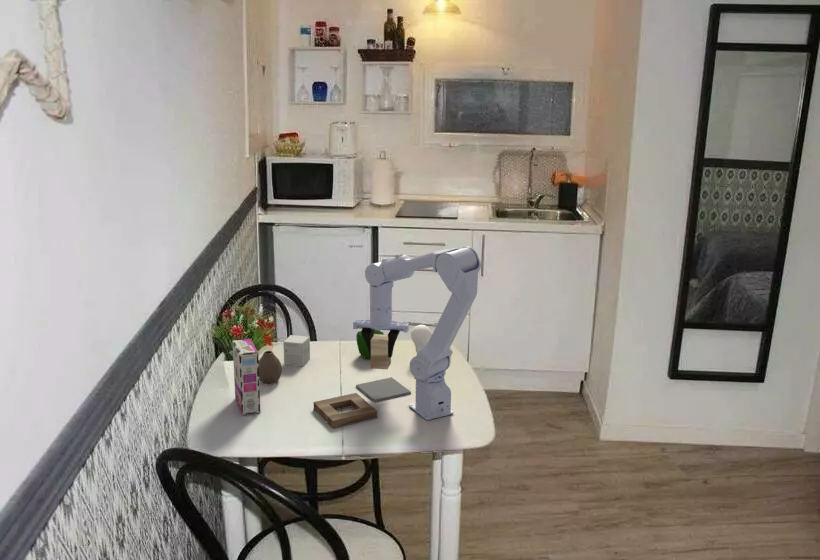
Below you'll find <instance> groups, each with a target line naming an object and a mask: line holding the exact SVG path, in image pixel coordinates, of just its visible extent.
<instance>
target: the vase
mask: <svg viewBox="0 0 820 560" xmlns="http://www.w3.org/2000/svg"><path fill="white" fill-rule="evenodd" d="M282 371H283V367H282V363H281V361H280V360H279V358H278V357H277V356H276V355H275V354H274V352H273V351H272V350H266V351H264V352H263V354H262V355H261V357H259V382H261V383H262V384H264V385H274V384H276V383H277V382H279V381H280V379H281V377H282Z"/></svg>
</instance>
